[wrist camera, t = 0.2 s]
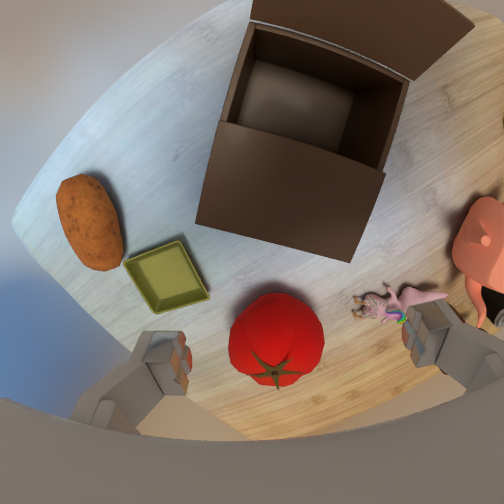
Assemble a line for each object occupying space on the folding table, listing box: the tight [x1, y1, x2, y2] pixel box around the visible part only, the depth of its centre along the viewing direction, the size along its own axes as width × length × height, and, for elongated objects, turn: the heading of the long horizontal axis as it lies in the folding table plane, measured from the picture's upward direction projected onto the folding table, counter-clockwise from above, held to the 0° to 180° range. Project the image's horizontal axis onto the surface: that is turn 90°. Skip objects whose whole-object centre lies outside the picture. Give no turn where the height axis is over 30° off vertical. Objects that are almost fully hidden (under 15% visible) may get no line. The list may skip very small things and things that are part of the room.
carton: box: [195, 22, 410, 263], centre depth 23 cm, size 15×12×12 cm
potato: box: [56, 174, 124, 271], centre depth 30 cm, size 7×13×7 cm, turn 4°
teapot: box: [452, 197, 504, 328], centre depth 28 cm, size 14×14×11 cm
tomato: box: [228, 293, 325, 390], centre depth 34 cm, size 12×12×11 cm
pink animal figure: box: [353, 287, 448, 324], centre depth 35 cm, size 6×6×15 cm
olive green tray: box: [123, 240, 210, 314], centre depth 35 cm, size 9×9×2 cm
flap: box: [250, 0, 475, 81], centre depth 11 cm, size 7×12×1 cm
